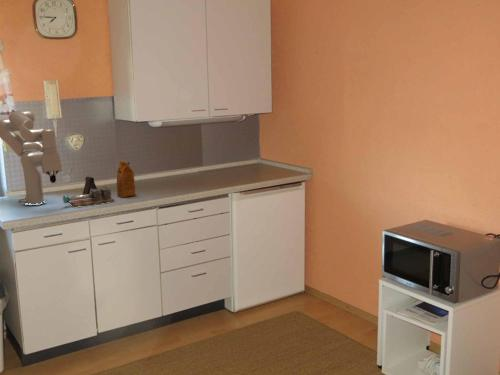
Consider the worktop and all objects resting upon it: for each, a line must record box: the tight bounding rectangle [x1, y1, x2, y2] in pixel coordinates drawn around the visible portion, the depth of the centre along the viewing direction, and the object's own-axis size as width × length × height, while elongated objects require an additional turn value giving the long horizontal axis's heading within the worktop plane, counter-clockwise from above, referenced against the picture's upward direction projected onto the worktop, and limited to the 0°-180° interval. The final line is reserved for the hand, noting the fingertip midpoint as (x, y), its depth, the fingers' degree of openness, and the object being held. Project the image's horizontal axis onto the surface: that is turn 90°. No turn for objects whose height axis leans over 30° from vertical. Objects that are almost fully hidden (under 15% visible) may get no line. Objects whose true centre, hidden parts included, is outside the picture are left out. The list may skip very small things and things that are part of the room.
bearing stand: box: [68, 187, 115, 208], centre depth 356 cm, size 24×12×8 cm, turn 122°
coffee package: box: [116, 159, 136, 198], centre depth 372 cm, size 10×12×22 cm
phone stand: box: [82, 176, 98, 195], centre depth 375 cm, size 9×6×12 cm, turn 131°
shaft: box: [62, 193, 94, 204], centre depth 353 cm, size 20×4×4 cm, turn 122°
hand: (53, 182), depth 342 cm, fingers closed
